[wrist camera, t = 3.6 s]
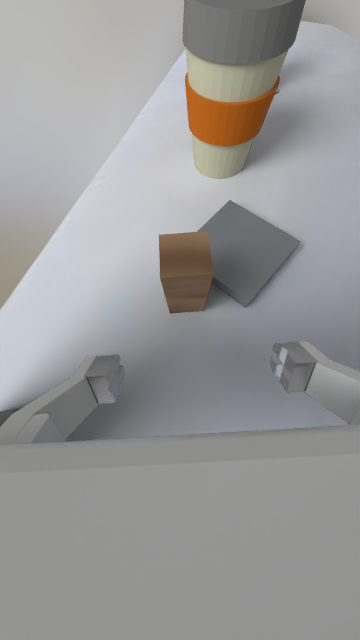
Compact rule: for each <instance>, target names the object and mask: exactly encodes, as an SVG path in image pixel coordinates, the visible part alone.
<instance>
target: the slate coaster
mask: <svg viewBox="0 0 360 640" xmlns="http://www.w3.org/2000/svg"><path fill="white" fill-rule="evenodd" d="M204 231H208V236H209V243H210V251H211V258H212V266H213V274H214V275H213V278H212V283H213V284H215V285H216V286H217V287H219V288H220V289H222V290H223V291H224V292H226V293H227V294H228V295H230V296H231V297H232V298H234V299H235V300H236V301H238V302H239V303H241V304H242V305H243V306H245V307H246V306H247V305H248V303H249V302H250V301H251V300H252V299H253V298H254V296H255V295H256V294H257V293H258V292H259V290H260V289H261V288H262V287H263V286H264V284H265V283H266V282H267V281H268V280H269V278H270V277H271V276H272V275H273V274H274V272H275V271H276V270H277V269H278V268H279V266H280V265H281V264H282V263H283V262H284V260H285V259H286V258H287V257H288V256H289V255H290V253H291V252H292V251H293V250H294V249H295V247H296V246H297V245H298V244H299V243H300V241H299V240H297V239H295V238H294V237H292V236H290V235H288V234H287V233H285V232H283V231H282V230H280V229H278V228H277V227H275V226H273V225H271V224H270V223H268V222H266V221H265V220H263V219H261V218H260V217H258V216H256V215H254V214H253V213H251V212H249V211H248V210H246V209H244V208H243V207H241V206H239V205H237V204H236V203H234V202H232V201H231V200H229V201H228V202H227V203H226V204H225V205H224V206H223V207H222V208H221V209H220V210H219V211H218V212H217V213H216V214H215V215H214V216H213V217H212V218H211V219H210V220H209V221H208V222H207V223H206V224H205V225H204V226H203V227H201V228H200V229H199V230H198V231H197V232H204Z"/></svg>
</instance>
